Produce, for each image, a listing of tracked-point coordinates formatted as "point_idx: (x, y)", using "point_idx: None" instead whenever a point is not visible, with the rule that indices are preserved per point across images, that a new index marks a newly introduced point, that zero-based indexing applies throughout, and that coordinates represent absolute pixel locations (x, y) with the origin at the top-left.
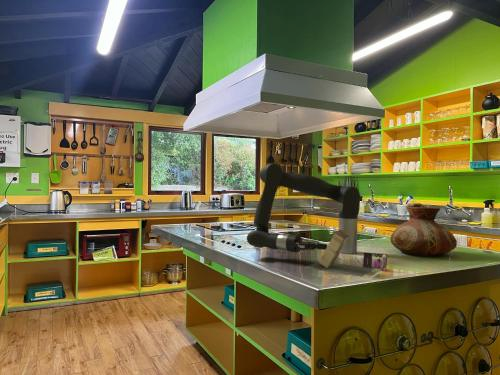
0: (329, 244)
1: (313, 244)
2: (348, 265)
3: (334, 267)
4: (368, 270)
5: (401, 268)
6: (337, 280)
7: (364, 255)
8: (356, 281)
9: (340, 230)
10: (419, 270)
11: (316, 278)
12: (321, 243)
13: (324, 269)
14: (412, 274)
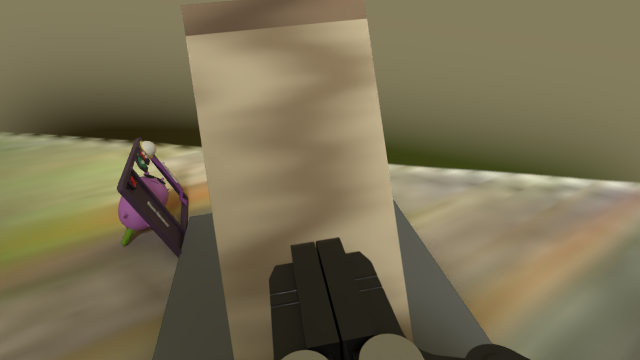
0: (386, 168)
1: (497, 354)
2: (174, 319)
3: None
4: None
5: (92, 193)
6: (522, 215)
7: (133, 201)
8: (448, 183)
9: (240, 6)
10: (108, 165)
11: (635, 277)
12: (304, 305)
13: (446, 349)
14: (191, 157)
